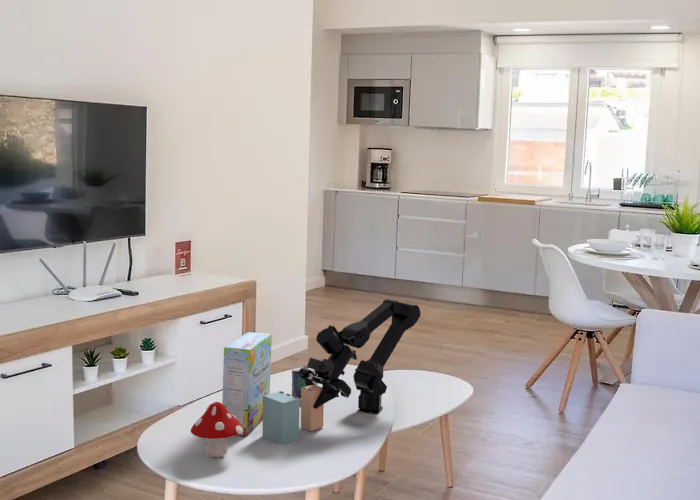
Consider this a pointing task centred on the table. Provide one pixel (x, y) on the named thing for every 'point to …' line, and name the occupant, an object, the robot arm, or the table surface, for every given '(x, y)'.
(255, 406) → the snack box
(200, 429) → the decorative mushroom
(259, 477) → the table surface
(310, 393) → the stub
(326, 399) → the robot arm
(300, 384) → the flask
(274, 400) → the teal block
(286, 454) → the table surface
